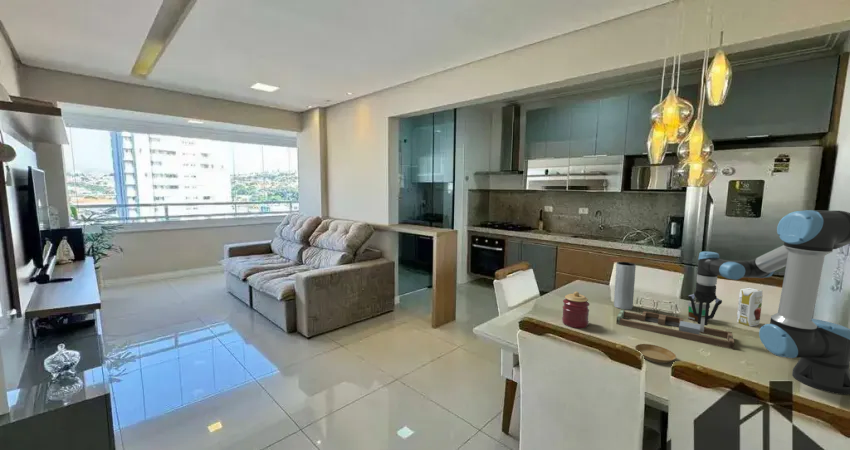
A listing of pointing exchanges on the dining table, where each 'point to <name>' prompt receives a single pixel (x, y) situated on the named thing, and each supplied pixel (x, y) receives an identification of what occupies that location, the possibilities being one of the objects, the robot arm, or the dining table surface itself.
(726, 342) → the track
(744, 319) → the juice carton
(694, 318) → the food container
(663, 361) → the plant saucer
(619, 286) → the vase
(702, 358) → the dining table surface
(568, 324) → the canister
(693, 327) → the grey block
